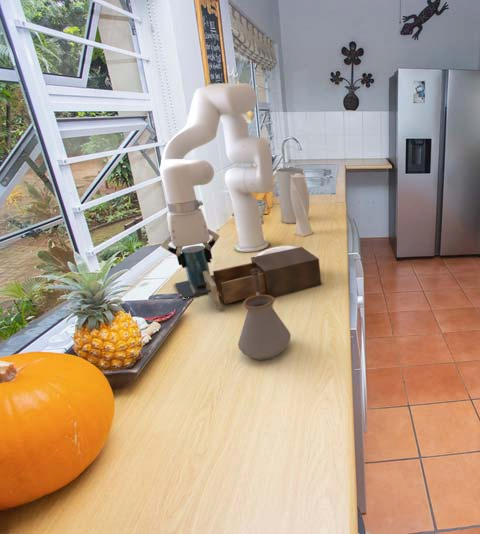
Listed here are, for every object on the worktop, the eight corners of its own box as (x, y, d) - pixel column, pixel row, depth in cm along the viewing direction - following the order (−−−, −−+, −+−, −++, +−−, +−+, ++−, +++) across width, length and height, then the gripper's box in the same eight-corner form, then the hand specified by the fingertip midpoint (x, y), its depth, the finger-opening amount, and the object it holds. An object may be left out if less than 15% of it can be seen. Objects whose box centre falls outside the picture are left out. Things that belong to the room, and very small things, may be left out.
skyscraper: (316, 233, 173) (310, 169, 162) (304, 237, 167) (297, 171, 157) (304, 230, 177) (297, 168, 166) (292, 234, 171) (284, 170, 161)
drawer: (199, 313, 104) (193, 290, 101) (191, 296, 114) (186, 274, 111) (272, 293, 115) (269, 272, 112) (259, 279, 124) (256, 259, 121)
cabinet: (268, 298, 114) (264, 271, 110) (255, 283, 124) (250, 257, 121) (321, 284, 123) (318, 258, 119) (304, 270, 133) (301, 246, 130)
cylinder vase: (284, 217, 198) (278, 168, 189) (309, 216, 199) (304, 167, 190) (280, 224, 187) (273, 171, 177) (306, 223, 188) (301, 171, 178)
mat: (175, 285, 123) (175, 283, 123) (218, 275, 130) (218, 273, 130) (181, 300, 113) (181, 298, 113) (228, 288, 120) (227, 287, 120)
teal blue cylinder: (187, 281, 122) (179, 248, 118) (209, 276, 125) (202, 244, 121) (191, 289, 116) (183, 255, 112) (214, 284, 119) (207, 251, 115)
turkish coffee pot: (295, 358, 86) (286, 298, 81) (240, 370, 83) (227, 308, 77) (285, 314, 105) (278, 263, 99) (240, 322, 101) (230, 270, 95)
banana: (311, 254, 148) (306, 269, 134) (261, 258, 147) (251, 273, 133) (309, 242, 146) (304, 256, 133) (259, 246, 145) (248, 260, 131)
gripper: (212, 200, 119) (223, 254, 126) (147, 208, 110) (162, 266, 117) (218, 205, 114) (228, 261, 121) (149, 214, 105) (165, 274, 111)
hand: (196, 263), depth 119 cm, fingers closed on teal blue cylinder, 6 cm apart
